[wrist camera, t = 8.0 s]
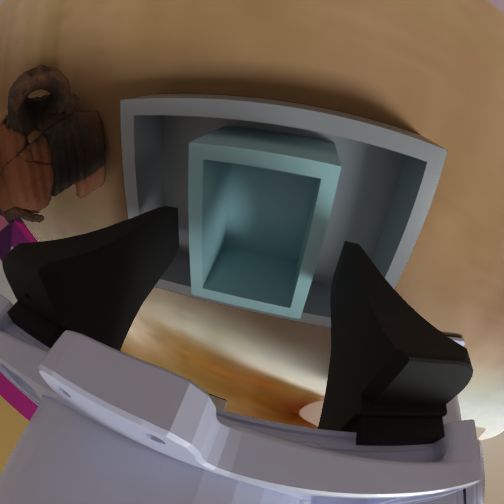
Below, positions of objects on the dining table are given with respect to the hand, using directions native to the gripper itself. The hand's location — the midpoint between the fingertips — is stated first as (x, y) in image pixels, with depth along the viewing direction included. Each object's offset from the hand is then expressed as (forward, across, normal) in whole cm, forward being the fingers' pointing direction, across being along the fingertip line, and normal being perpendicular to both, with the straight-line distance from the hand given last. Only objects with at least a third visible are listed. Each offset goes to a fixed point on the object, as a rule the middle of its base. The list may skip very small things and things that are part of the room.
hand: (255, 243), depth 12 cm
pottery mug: (+5, +16, -3) cm, 17 cm away
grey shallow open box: (+5, 0, 0) cm, 5 cm away
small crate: (+4, 0, 0) cm, 4 cm away
